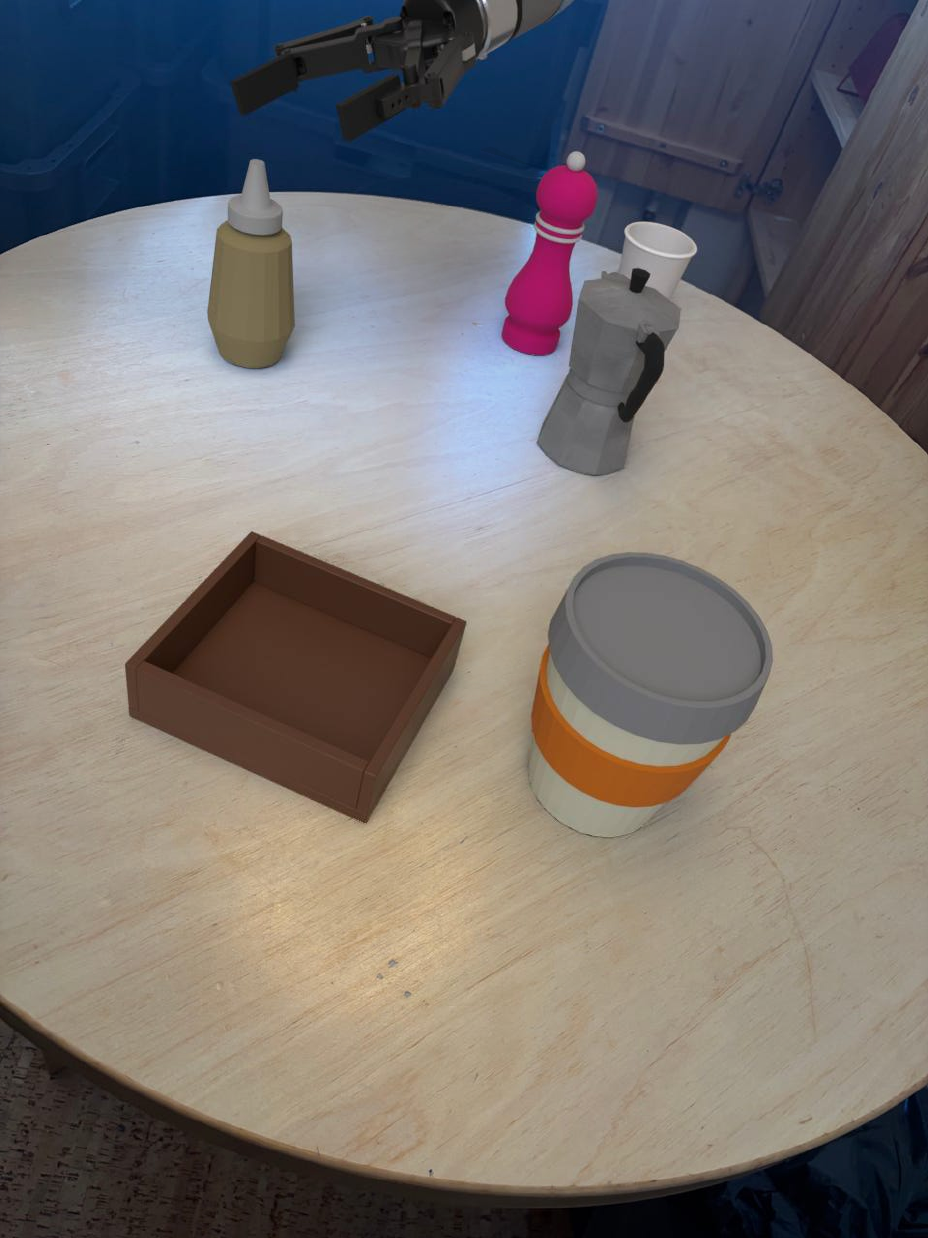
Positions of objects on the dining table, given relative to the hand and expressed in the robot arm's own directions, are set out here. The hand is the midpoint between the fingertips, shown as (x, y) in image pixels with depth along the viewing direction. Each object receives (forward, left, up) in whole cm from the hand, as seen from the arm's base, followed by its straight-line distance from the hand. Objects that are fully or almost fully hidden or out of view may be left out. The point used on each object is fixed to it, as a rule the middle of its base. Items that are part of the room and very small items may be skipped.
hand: (287, 110), depth 79 cm
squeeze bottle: (-2, -3, -22) cm, 22 cm away
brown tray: (+9, -44, -22) cm, 50 cm away
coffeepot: (+31, -10, -22) cm, 39 cm away
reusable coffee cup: (+29, -48, -22) cm, 60 cm away
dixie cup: (+39, +20, -22) cm, 49 cm away
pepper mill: (+26, +10, -22) cm, 36 cm away
